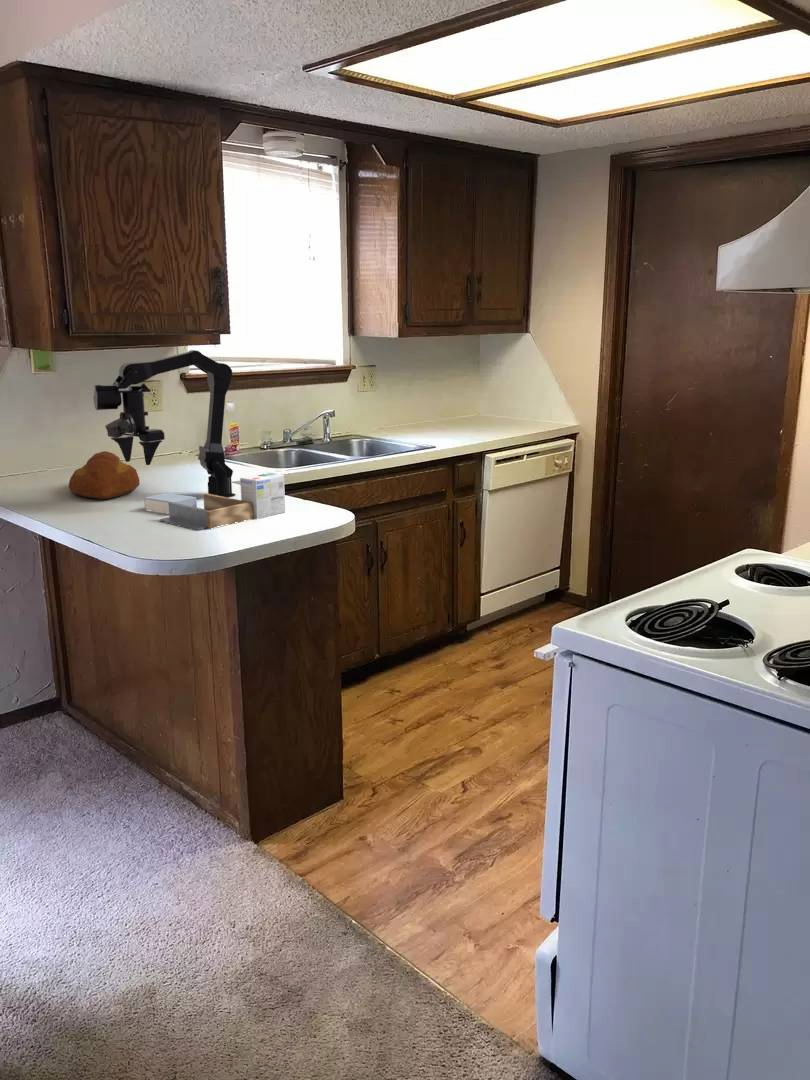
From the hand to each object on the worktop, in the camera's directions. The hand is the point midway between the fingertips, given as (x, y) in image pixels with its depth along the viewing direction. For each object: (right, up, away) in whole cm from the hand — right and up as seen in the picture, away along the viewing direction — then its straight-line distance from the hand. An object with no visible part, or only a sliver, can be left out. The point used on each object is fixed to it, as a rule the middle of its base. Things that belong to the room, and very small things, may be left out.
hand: (137, 463), depth 245 cm
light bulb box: (+38, -15, -9) cm, 41 cm away
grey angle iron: (+19, -18, -20) cm, 33 cm away
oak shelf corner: (+24, -16, -14) cm, 32 cm away
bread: (-17, -7, +21) cm, 28 cm away
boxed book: (+11, -14, -4) cm, 18 cm away
